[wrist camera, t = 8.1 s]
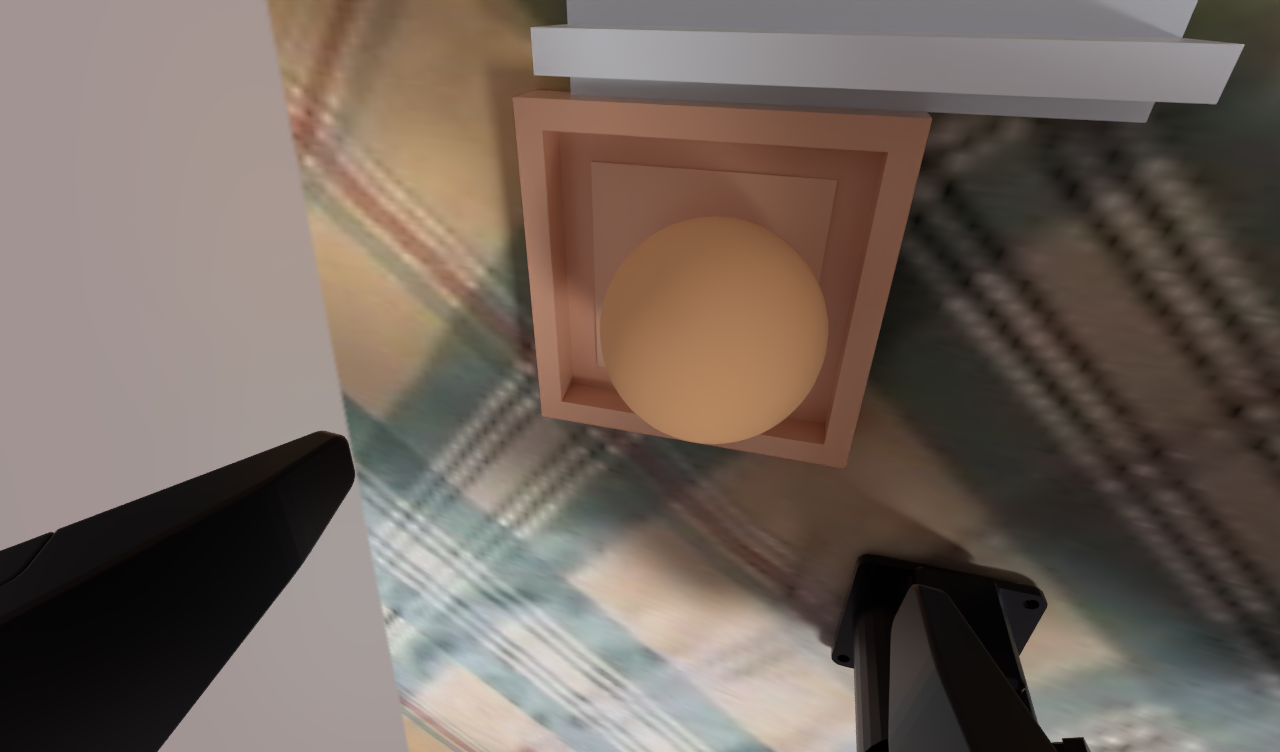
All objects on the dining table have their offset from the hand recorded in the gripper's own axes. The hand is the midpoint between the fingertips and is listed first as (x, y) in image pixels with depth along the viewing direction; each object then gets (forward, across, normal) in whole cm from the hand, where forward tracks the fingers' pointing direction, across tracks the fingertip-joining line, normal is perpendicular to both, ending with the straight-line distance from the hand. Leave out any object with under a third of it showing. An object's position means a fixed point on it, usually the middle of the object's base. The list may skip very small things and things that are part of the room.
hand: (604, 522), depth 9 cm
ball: (+8, 0, +1) cm, 8 cm away
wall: (+12, -2, -6) cm, 13 cm away
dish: (+12, 0, +1) cm, 12 cm away
